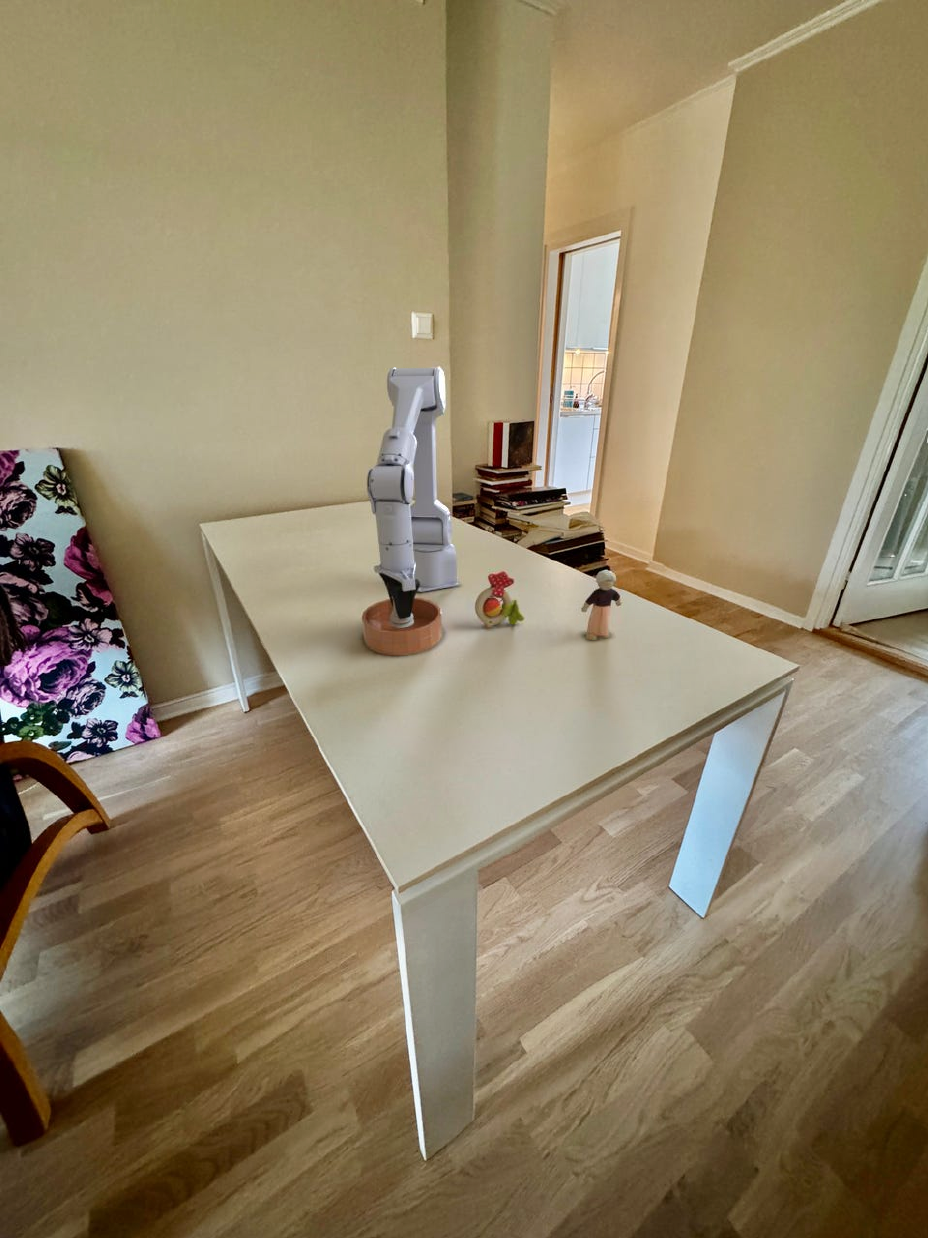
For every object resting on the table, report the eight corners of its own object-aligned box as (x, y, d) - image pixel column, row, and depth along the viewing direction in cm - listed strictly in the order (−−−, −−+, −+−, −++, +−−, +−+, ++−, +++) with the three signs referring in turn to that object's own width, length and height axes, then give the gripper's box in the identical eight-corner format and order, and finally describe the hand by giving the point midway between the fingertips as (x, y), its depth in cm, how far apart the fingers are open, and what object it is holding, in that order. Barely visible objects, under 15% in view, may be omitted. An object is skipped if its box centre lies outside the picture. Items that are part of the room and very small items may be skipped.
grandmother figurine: (589, 644, 84) (597, 578, 79) (575, 635, 87) (582, 570, 82) (622, 634, 88) (632, 569, 82) (607, 625, 91) (616, 562, 85)
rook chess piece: (419, 622, 88) (416, 582, 84) (403, 632, 85) (400, 591, 81) (400, 616, 90) (396, 577, 87) (384, 626, 87) (380, 585, 83)
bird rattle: (496, 644, 89) (535, 617, 91) (474, 599, 83) (516, 571, 85) (481, 629, 94) (517, 604, 96) (459, 586, 88) (498, 560, 90)
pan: (428, 612, 97) (427, 592, 95) (452, 645, 85) (452, 623, 83) (358, 625, 92) (355, 604, 90) (373, 662, 81) (370, 639, 78)
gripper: (363, 531, 85) (371, 600, 91) (381, 556, 73) (389, 634, 79) (402, 526, 87) (407, 594, 93) (425, 550, 75) (430, 626, 81)
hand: (401, 612), depth 86 cm, fingers closed on rook chess piece, 3 cm apart
